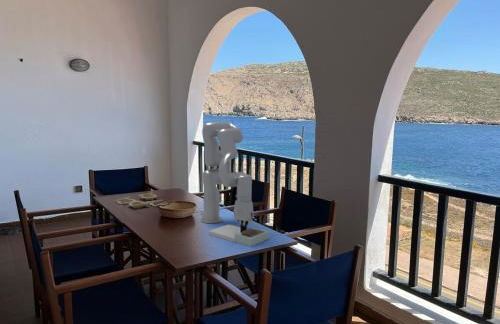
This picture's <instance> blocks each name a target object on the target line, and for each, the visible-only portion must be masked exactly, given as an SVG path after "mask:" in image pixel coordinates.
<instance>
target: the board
mask: <svg viewBox="0 0 500 324" xmlns="http://www.w3.org/2000/svg"><path fill="white" fill-rule="evenodd" d="M235 234H240V235H242V233H241V232H240V226H236V225H233V224H226V225H222V226H219V227H216V228H213V229H212V230H211V229H210V230H209V231H208V235H210V236H213V237H216V238H220V239H224V240H226V241H230V242H233V243H236V242H235Z"/></svg>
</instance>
